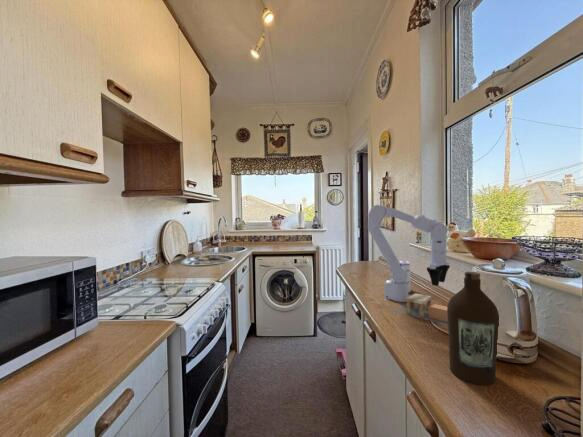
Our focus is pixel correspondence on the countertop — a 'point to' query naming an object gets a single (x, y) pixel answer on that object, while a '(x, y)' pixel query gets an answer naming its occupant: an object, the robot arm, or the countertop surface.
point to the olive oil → (473, 333)
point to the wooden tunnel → (417, 299)
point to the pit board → (417, 314)
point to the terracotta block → (438, 312)
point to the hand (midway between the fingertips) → (438, 283)
